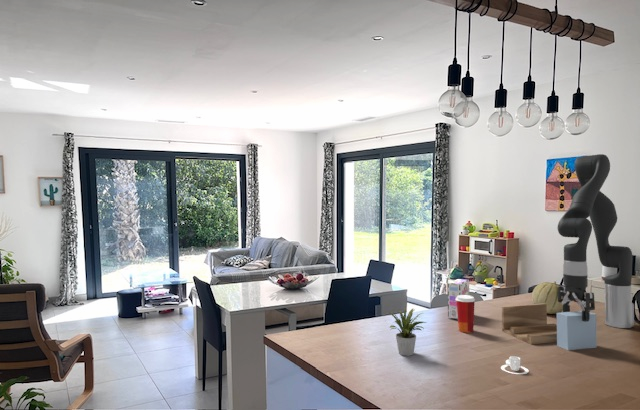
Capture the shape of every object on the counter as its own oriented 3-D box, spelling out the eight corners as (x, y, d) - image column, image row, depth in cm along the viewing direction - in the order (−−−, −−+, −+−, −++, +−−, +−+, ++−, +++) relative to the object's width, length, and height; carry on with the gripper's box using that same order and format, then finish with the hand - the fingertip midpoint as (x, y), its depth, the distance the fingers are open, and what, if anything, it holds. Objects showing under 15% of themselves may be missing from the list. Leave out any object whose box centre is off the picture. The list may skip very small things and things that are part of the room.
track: (502, 331, 171) (501, 306, 171) (545, 327, 175) (544, 303, 175) (531, 344, 155) (530, 317, 155) (577, 340, 159) (577, 313, 159)
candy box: (460, 320, 188) (459, 283, 188) (447, 318, 191) (446, 282, 191) (470, 314, 199) (469, 279, 199) (458, 312, 202) (457, 278, 202)
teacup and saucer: (505, 363, 138) (505, 350, 138) (532, 369, 133) (532, 356, 133) (497, 371, 131) (497, 358, 131) (525, 378, 126) (524, 364, 126)
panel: (585, 343, 155) (584, 310, 155) (596, 347, 150) (596, 314, 150) (557, 345, 153) (556, 312, 153) (567, 350, 148) (567, 316, 148)
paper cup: (473, 328, 176) (472, 294, 176) (478, 333, 168) (477, 298, 168) (453, 327, 177) (453, 294, 177) (458, 333, 169) (457, 298, 169)
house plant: (393, 363, 139) (392, 313, 139) (376, 349, 152) (376, 304, 152) (432, 358, 142) (431, 310, 142) (412, 345, 156) (411, 301, 156)
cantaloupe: (524, 311, 202) (524, 280, 202) (549, 308, 207) (548, 277, 207) (550, 318, 188) (549, 285, 188) (575, 315, 193) (574, 283, 193)
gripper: (600, 275, 146) (601, 322, 145) (568, 270, 159) (569, 313, 159) (582, 276, 144) (582, 324, 144) (551, 270, 158) (552, 314, 158)
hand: (575, 318), depth 152 cm, fingers open, 8 cm apart
